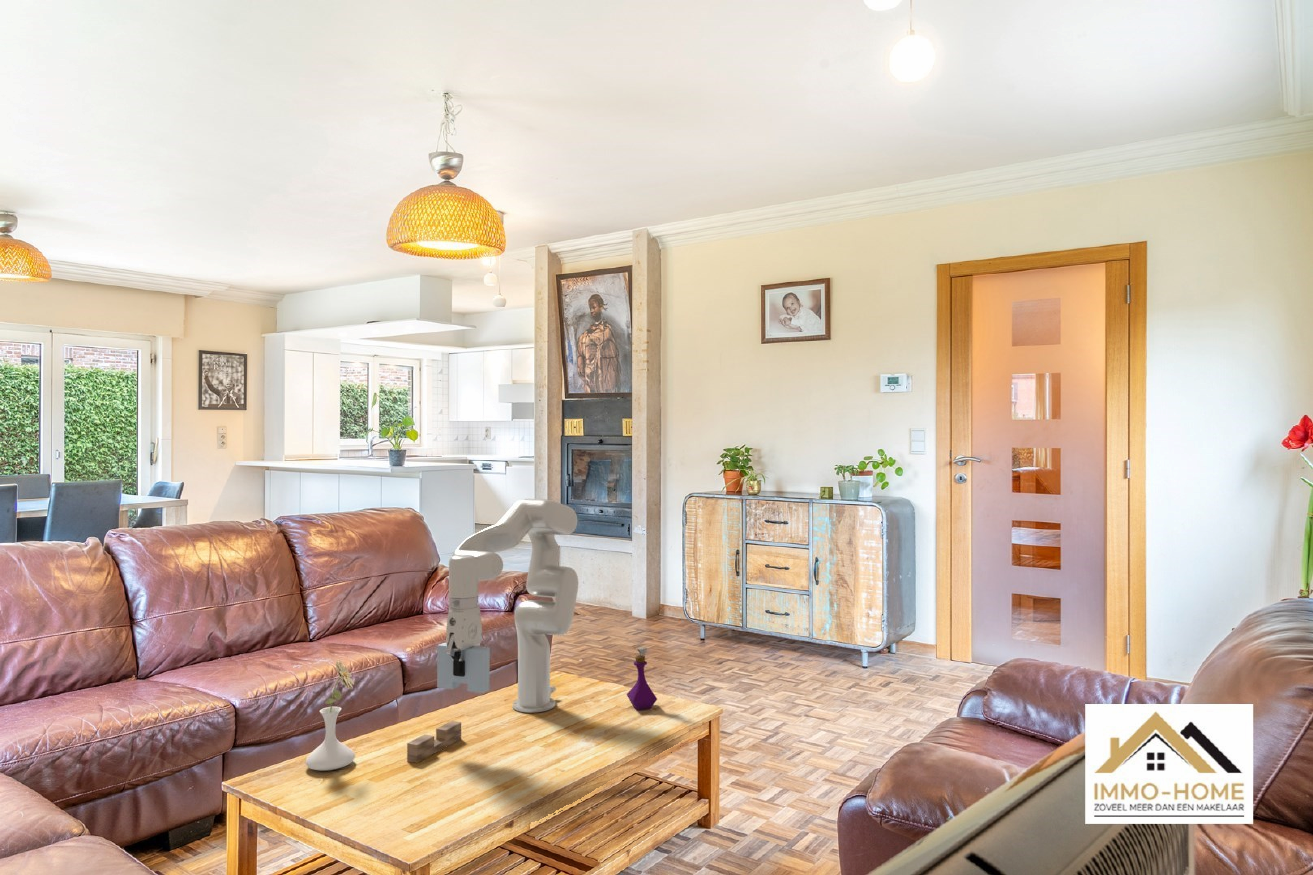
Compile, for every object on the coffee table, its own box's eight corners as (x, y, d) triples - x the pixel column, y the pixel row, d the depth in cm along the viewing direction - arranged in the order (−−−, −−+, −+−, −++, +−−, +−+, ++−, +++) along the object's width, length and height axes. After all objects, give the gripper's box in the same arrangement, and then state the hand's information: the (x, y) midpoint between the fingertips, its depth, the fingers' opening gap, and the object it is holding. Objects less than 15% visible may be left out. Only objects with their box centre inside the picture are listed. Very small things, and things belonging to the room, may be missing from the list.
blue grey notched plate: (444, 684, 221) (444, 642, 221) (489, 690, 216) (489, 647, 216) (437, 687, 218) (437, 645, 218) (482, 693, 213) (483, 650, 213)
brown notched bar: (452, 737, 225) (452, 720, 225) (461, 738, 224) (461, 722, 224) (407, 761, 208) (407, 743, 208) (416, 763, 207) (416, 744, 207)
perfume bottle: (626, 704, 253) (626, 645, 252) (650, 702, 255) (650, 643, 255) (633, 712, 245) (633, 651, 245) (657, 710, 248) (657, 649, 248)
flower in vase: (338, 777, 199) (338, 671, 199) (295, 773, 201) (295, 669, 201) (367, 756, 212) (367, 657, 212) (327, 752, 214) (327, 655, 214)
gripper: (457, 609, 208) (456, 683, 208) (493, 598, 224) (493, 667, 223) (432, 607, 211) (431, 680, 211) (469, 596, 226) (469, 664, 226)
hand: (463, 673), depth 217 cm, fingers closed on blue grey notched plate, 3 cm apart
